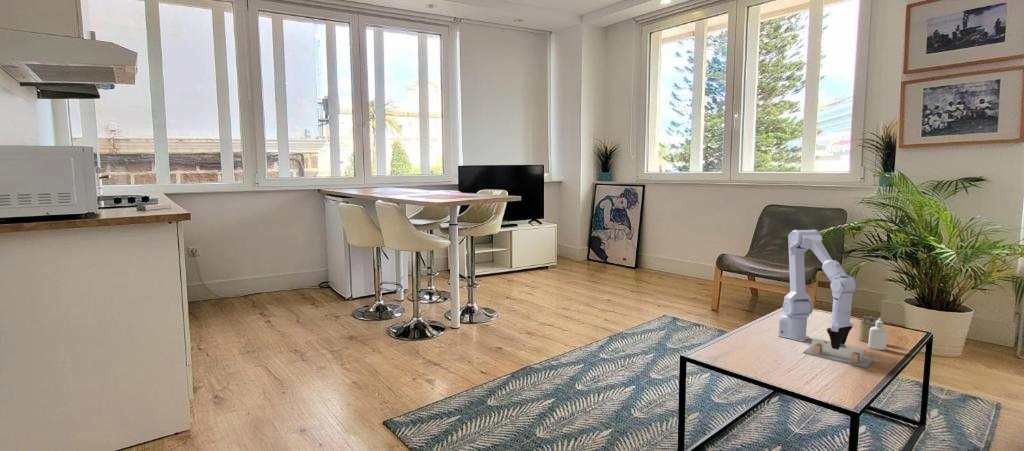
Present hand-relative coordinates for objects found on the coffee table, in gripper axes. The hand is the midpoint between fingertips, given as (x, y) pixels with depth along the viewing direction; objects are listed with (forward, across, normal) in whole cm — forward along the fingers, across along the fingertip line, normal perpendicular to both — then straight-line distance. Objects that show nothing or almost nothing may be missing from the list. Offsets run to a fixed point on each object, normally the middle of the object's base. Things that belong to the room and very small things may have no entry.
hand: (838, 346), depth 193 cm
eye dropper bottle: (+4, +21, -8) cm, 23 cm away
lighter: (+4, +28, -4) cm, 29 cm away
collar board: (+4, 0, 0) cm, 4 cm away
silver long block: (+3, 0, 0) cm, 4 cm away
